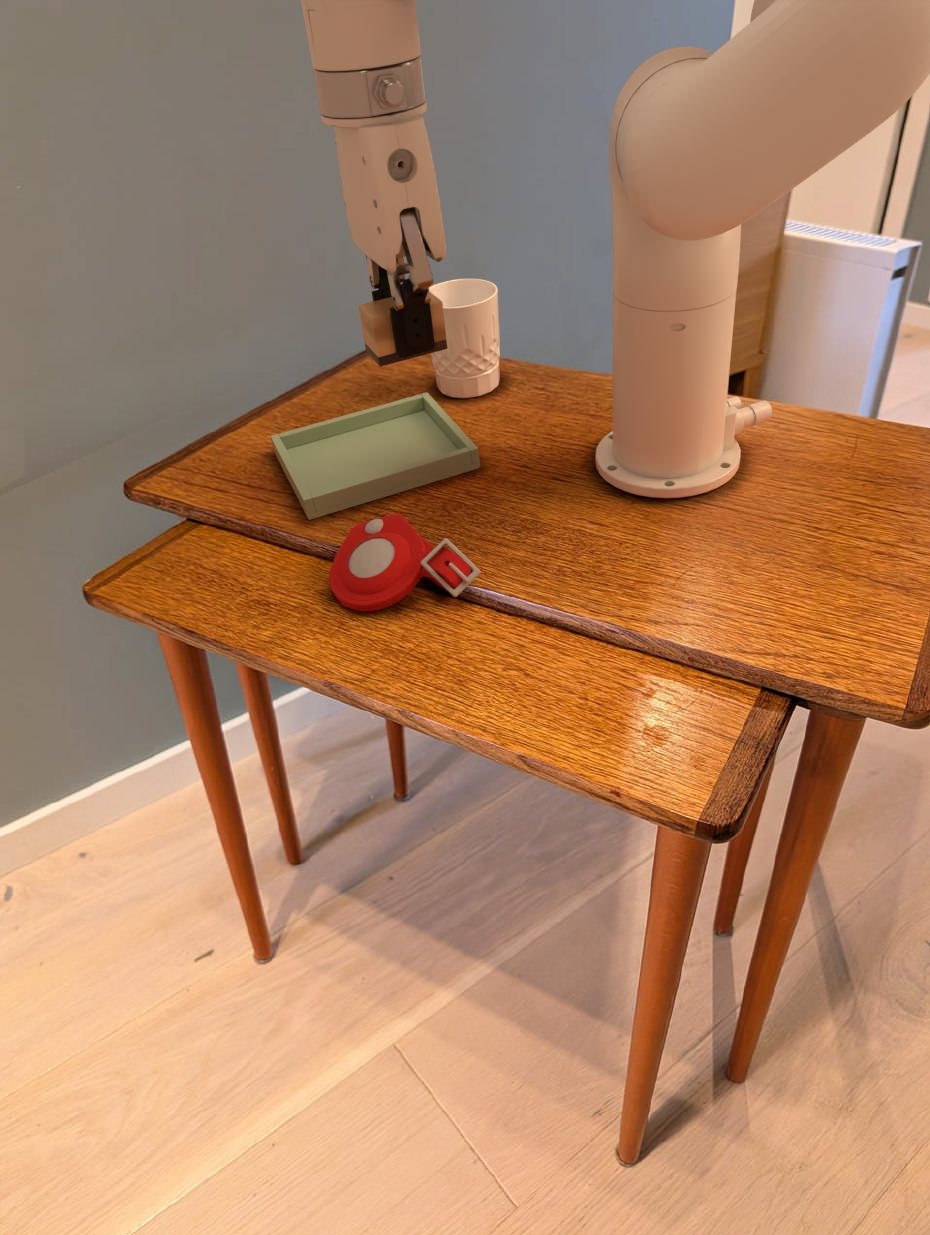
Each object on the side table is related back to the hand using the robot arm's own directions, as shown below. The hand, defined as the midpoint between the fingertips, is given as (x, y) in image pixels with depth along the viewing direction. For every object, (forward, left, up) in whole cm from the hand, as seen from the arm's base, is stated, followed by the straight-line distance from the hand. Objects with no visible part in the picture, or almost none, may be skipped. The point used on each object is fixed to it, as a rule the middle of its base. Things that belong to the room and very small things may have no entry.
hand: (406, 341), depth 74 cm
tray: (+3, -6, -13) cm, 15 cm away
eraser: (0, 0, -1) cm, 1 cm away
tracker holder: (+7, +14, -13) cm, 21 cm away
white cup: (-11, -16, -13) cm, 23 cm away
